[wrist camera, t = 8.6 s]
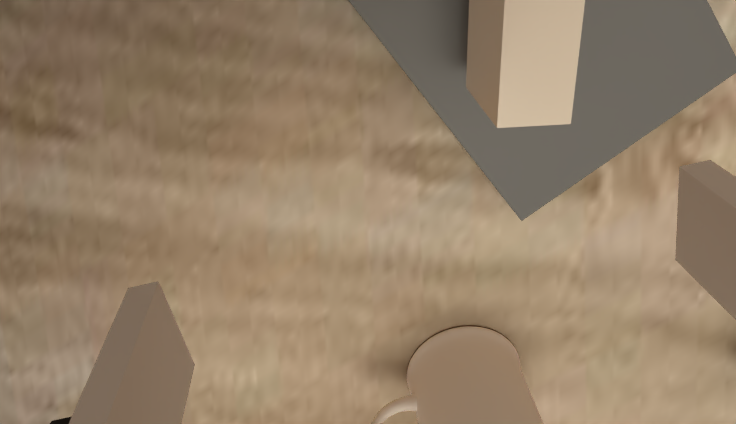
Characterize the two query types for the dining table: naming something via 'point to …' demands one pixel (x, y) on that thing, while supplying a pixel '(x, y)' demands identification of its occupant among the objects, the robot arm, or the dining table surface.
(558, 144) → the tuner board
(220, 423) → the dining table surface
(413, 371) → the mug
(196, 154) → the dining table surface
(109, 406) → the robot arm
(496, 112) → the peg
